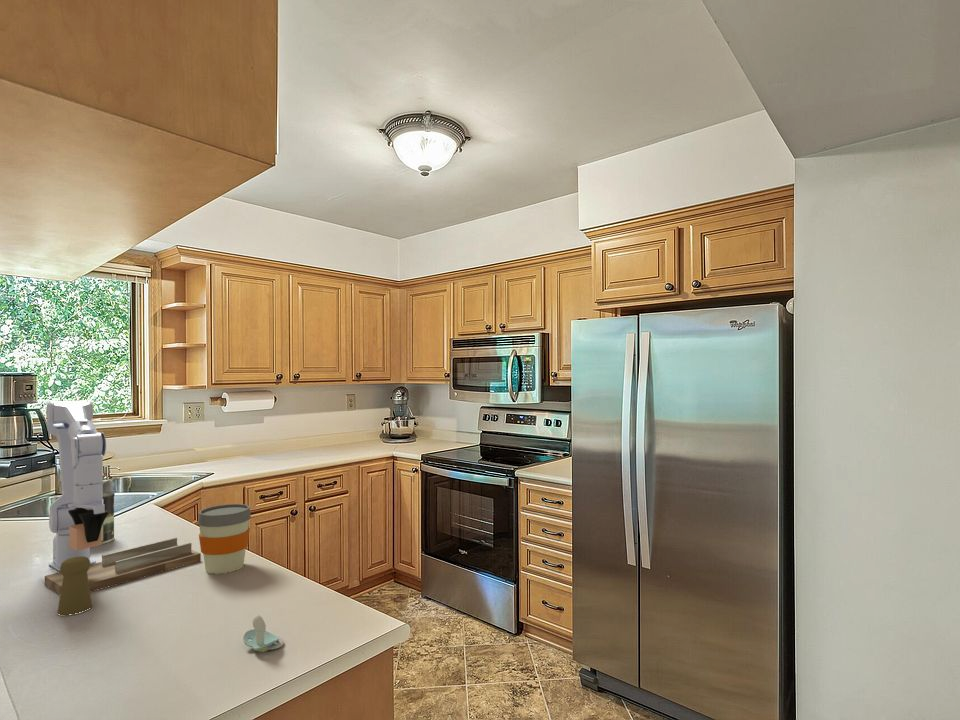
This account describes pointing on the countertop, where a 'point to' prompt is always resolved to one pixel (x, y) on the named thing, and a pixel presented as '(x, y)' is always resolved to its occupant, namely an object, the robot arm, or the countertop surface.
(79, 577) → the cork
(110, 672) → the countertop surface
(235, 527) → the reusable coffee cup
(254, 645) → the pacifier
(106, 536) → the coffee can
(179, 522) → the countertop surface
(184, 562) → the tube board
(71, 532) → the block
